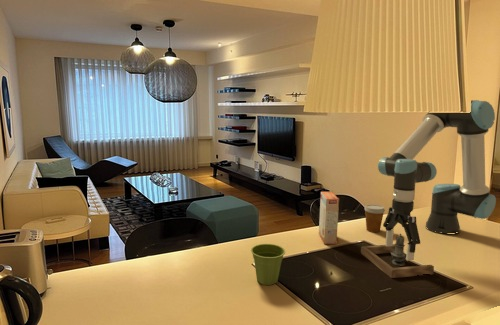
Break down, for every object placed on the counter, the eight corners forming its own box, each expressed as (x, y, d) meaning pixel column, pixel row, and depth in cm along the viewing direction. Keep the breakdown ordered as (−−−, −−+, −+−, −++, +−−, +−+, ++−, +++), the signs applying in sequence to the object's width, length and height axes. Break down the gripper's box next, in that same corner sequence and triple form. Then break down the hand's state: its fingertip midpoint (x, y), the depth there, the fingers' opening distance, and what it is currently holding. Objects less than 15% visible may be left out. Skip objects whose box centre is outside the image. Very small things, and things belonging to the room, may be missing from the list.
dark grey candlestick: (407, 266, 138) (410, 236, 136) (391, 265, 139) (394, 235, 137) (404, 260, 143) (406, 231, 142) (389, 259, 145) (391, 230, 143)
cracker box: (337, 244, 159) (339, 198, 156) (323, 244, 159) (325, 198, 156) (331, 233, 173) (333, 191, 169) (318, 233, 173) (320, 191, 170)
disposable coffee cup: (380, 227, 182) (382, 204, 180) (385, 234, 173) (387, 209, 171) (361, 226, 183) (362, 203, 181) (365, 233, 174) (366, 209, 172)
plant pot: (254, 290, 119) (254, 258, 117) (247, 274, 130) (247, 244, 129) (288, 287, 121) (289, 255, 119) (279, 271, 133) (279, 242, 131)
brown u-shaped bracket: (397, 250, 153) (398, 243, 153) (433, 274, 132) (433, 266, 131) (360, 253, 150) (361, 246, 149) (391, 278, 128) (391, 270, 128)
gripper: (376, 192, 148) (373, 241, 152) (415, 209, 124) (410, 267, 128) (393, 191, 150) (389, 240, 153) (434, 208, 126) (429, 265, 129)
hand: (398, 252), depth 140 cm, fingers open, 13 cm apart
